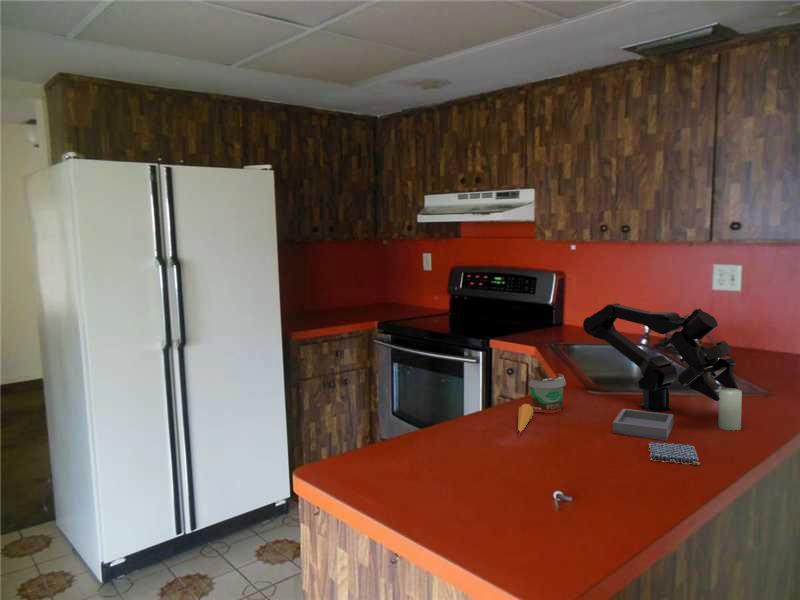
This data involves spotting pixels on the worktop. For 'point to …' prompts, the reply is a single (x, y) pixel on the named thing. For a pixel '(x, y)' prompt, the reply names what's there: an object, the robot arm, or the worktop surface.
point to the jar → (730, 409)
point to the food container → (547, 393)
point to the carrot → (524, 416)
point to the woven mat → (673, 453)
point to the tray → (643, 424)
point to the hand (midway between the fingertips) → (728, 397)
